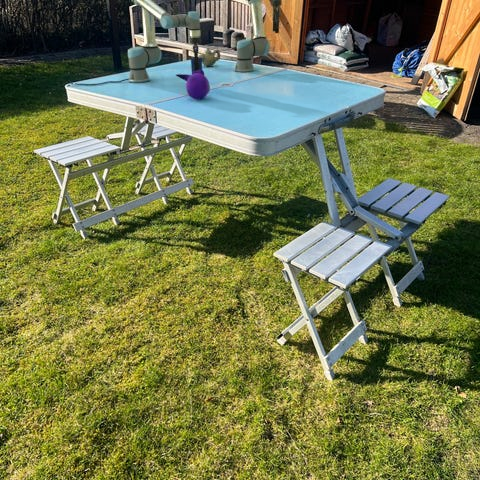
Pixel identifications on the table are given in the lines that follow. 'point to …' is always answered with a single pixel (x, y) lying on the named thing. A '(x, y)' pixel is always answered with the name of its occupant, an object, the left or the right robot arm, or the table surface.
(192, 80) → the toy
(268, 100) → the table surface
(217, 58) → the teapot
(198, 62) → the brick
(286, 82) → the table surface
